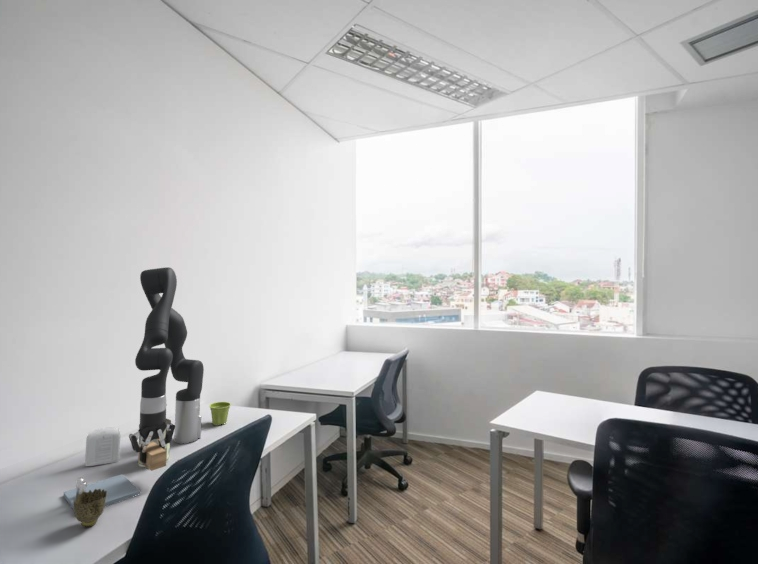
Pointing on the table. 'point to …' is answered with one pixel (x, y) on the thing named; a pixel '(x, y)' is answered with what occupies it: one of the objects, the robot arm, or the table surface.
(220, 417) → the plant pot
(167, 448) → the coffee can
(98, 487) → the base board
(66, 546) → the table surface
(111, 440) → the photo printer
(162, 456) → the flange bar
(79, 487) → the dowel pins
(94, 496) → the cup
